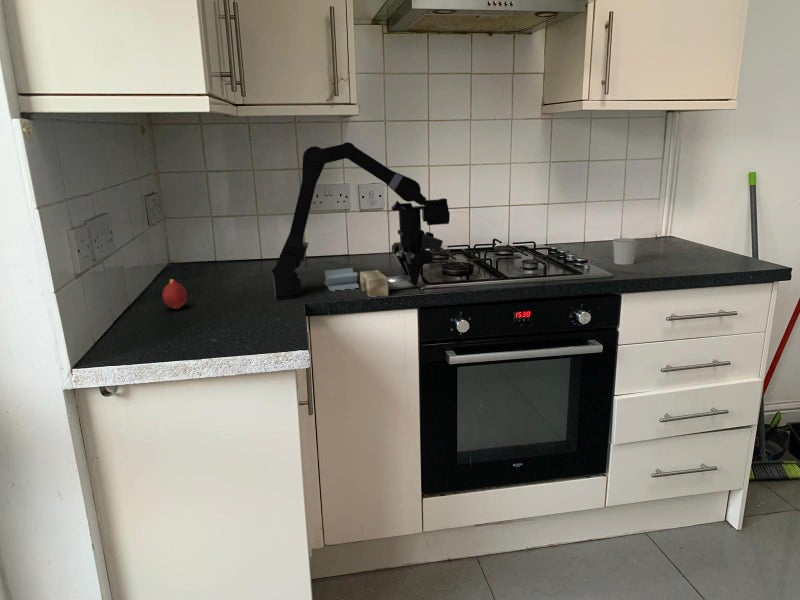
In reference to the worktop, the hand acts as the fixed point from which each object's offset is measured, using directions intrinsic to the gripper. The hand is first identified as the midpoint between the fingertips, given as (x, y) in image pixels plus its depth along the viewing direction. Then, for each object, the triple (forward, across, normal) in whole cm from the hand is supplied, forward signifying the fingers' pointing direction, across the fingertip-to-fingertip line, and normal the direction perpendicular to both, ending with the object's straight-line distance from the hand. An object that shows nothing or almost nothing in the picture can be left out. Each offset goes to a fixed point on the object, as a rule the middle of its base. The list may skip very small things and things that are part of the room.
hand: (412, 283), depth 160 cm
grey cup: (+2, +1, -68) cm, 68 cm away
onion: (+1, +5, +61) cm, 62 cm away
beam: (+1, 0, +11) cm, 11 cm away
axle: (-1, 0, +3) cm, 3 cm away
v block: (+1, +10, +18) cm, 21 cm away
